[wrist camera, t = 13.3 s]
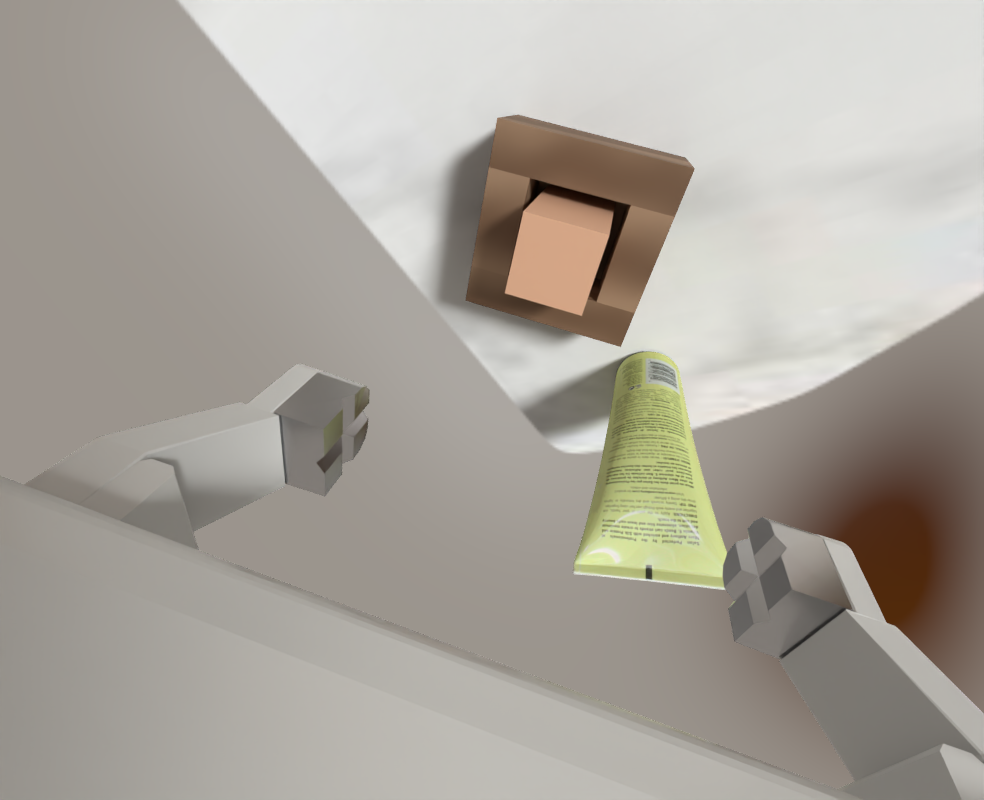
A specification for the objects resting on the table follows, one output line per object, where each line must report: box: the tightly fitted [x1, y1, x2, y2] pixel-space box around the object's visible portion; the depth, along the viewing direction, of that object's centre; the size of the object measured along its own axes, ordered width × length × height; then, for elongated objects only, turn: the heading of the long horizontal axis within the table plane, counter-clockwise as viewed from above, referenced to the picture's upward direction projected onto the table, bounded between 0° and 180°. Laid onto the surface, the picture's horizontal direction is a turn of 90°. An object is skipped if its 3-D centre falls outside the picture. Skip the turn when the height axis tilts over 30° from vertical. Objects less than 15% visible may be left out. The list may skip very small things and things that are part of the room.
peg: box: [505, 184, 615, 316], centre depth 28 cm, size 4×4×9 cm
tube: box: [573, 352, 727, 590], centre depth 30 cm, size 6×5×20 cm
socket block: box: [466, 115, 695, 347], centre depth 30 cm, size 11×11×6 cm
